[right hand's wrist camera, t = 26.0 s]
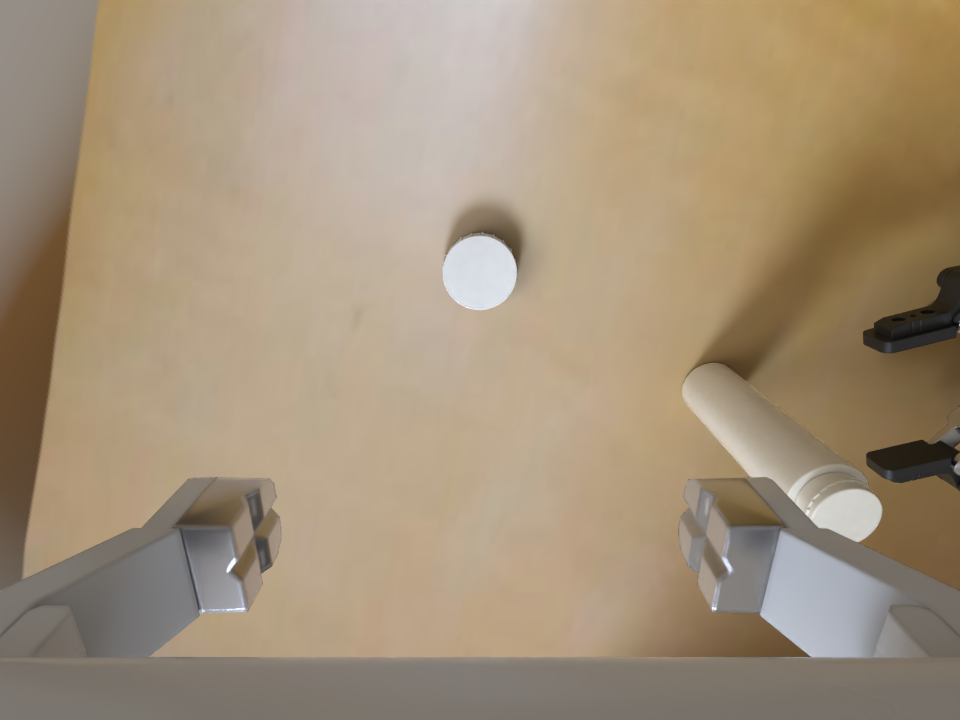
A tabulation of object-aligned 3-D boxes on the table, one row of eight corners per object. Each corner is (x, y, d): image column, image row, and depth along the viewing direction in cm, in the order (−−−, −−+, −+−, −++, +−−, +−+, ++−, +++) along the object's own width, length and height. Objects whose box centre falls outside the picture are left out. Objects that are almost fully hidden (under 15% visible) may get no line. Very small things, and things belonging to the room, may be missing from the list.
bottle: (695, 355, 37) (830, 471, 23) (746, 371, 38) (909, 494, 23) (672, 404, 38) (786, 542, 24) (721, 418, 39) (862, 562, 25)
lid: (492, 317, 36) (493, 324, 35) (429, 282, 35) (427, 287, 34) (530, 255, 35) (532, 259, 33) (465, 217, 34) (465, 219, 32)
